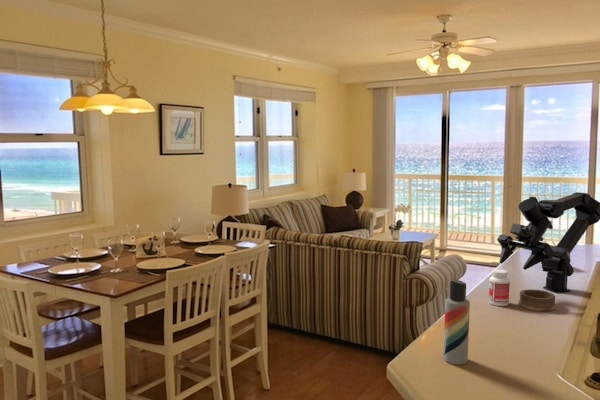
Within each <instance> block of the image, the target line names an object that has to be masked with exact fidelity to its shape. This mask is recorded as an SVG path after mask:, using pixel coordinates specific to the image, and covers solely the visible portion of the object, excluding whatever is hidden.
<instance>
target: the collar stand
mask: <svg viewBox="0 0 600 400" xmlns="http://www.w3.org/2000/svg"><path fill="white" fill-rule="evenodd" d="M517 302H518V304H517V305H518V306H519V307H521V308H522V309H524V310H528V311H532V312H537V313H538V312H539V313H550V312H553V311H556V309H557V305H556V295H555V294H554V293H552V292H549V291H546V290H540V289H522V290H521V291H519V300H518V301H517Z"/></svg>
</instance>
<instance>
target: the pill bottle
mask: <svg viewBox="0 0 600 400" xmlns="http://www.w3.org/2000/svg"><path fill="white" fill-rule="evenodd" d="M508 274H509V272H508V270H505V269H492V271H491V275H492V276H490V277H489V280H488V281H489V282H488V284H489V285H488V302H489V304H491V305H493V306H496V307H506V306H508V305H509V303H510V283H511V282H510V279H509V278H508Z"/></svg>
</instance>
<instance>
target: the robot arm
mask: <svg viewBox="0 0 600 400" xmlns="http://www.w3.org/2000/svg"><path fill="white" fill-rule="evenodd" d="M518 209H519V211H520V213H521V215H523V217H524V219H525V220H526V221H527V222H529V223H528V224H527V225H524V224H520V223H512V225H511V228H510V231H509V233H511V234H513V235H515V236H514V237H515V239H516V240H514V239H513V237H512V236H511V235H507V234H499V236H498V237H497V238H496V240H497V242H498V244H499V245H500V247H501V252H500V257H499V264H501V265H502V264H503V263H505V262H506V261H507V259H509V258H510V257H511V256H512V255H513V253H514V251H515V250H516V248H520V249H524V250H528V251H530V252H531V253H530V255H529V257H528V258H527V260H526V261H525V263H524V265H523V268H522V269H523V270H525V271H526V270H527V269H530V268H531V267H534V266H536V265H537V264H541V267H542V272H547V273H546V277H545V286H542V288H543V289H545V290H548V291H550V292H553V293H556V294H557V293H558V294H559V293H566V292H571V289H569V288H568V277H571V276H572V275H573V274H574V271H575V269H574V267H573V265H572V264H571V261H572V260H571V253H572V252H573V250H574V249H575V247H576V246H577V245H578V242H579V241H580V240H581V238H582V237H583V236H584V234H585V232H587V230H588V228H589V227H590V226H593V225H594V224H597V223H598V222H599V221H600V201H599V200H596V199H595V198H593V197H592V196H591V195H590V194H589V193H587V192H578V191H577V192H573V193H572V194H569V195H566V196H562V197H560V198H558V199H543V200H539V201H538V199H537V197H536V196H529V197H528V198H526V199H523V200H522V201H521V202H520V203H519V204H518ZM571 209H574V210H575V219H574V220H573V222H572V223H571V225H570V226H569V228H567V230H566V232H565V234H564V235H563V236H562V238H561V239H560V241H559V242H558V243H557V245H552V246H551V244H549V243H548V242H544V237H543V236H544V235H545V233H546V232H547V230H548V229H549V230H553V227H554V226H553V222H552V220H550V219H558V218H561V217H562V216H563V215H564V213H565V211H568V210H571ZM549 218H550V219H549Z"/></svg>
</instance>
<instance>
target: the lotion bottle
mask: <svg viewBox="0 0 600 400" xmlns="http://www.w3.org/2000/svg"><path fill="white" fill-rule="evenodd" d="M448 295H449V297H447V298H446V299H445V300H444V323H443V324H444V328H443V359H444V362H446V361H447V363H448V364H451V365H455V366H456V365H458V366H461V365H465V364H467V362H468V360H469V342H470V341H469V339H470V337H469V336H470V312H471V311H470V309H471V308H470V307H471V306H470V305H471V304H470V300H468V299H467V283H466V282H464V281H462V280H460V279H452V280H450V281H449V294H448Z"/></svg>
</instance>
